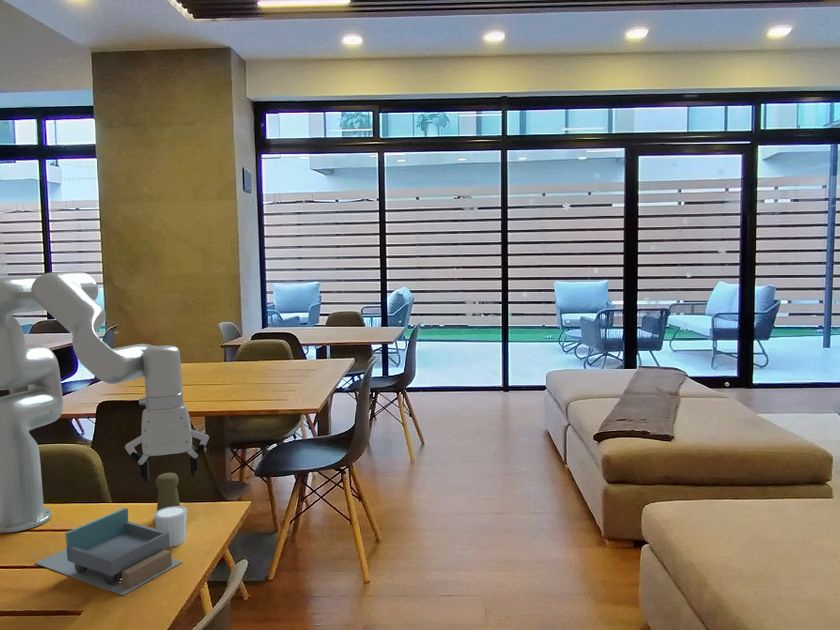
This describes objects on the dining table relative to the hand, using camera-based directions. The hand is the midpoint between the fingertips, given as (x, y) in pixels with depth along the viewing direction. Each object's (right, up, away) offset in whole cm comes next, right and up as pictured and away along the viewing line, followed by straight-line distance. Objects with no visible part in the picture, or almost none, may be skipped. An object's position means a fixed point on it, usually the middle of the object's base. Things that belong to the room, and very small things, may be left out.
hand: (170, 476), depth 137 cm
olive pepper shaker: (-6, -14, +14) cm, 21 cm away
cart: (-6, -16, -10) cm, 20 cm away
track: (-10, -16, -8) cm, 20 cm away
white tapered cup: (0, -15, +2) cm, 15 cm away
